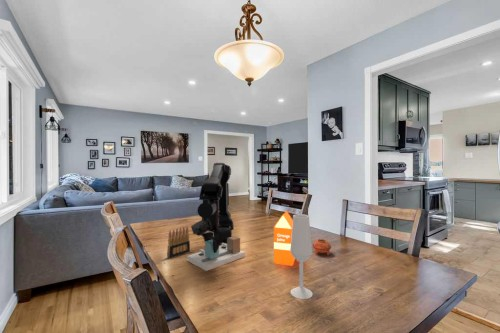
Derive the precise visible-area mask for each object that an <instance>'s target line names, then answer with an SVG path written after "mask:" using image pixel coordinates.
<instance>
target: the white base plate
mask: <svg viewBox="0 0 500 333" xmlns="http://www.w3.org/2000/svg"><path fill="white" fill-rule="evenodd" d="M245 252H246V251H244V250H241V237H239V236H236V235H232V237H229V238H227V243H221V245H220V246H219V256H218V257H215V258H212V259H210V258H208V257H206V256H205V253H201V252H200V251H199V252H195V253H193V254H189V255H186V257H187V258H186V259H187V262H189V263H190V264H193V265H194V266H196V267H198V268H200V269H202V270H204V271H205V272H208V271H210V270H211V271H212V270H213V269H216V268H218V267H221V266H224V265H226V264H229V263H231V262H234V261H237V260H240V259H242V258H245V257H246V253H245Z"/></svg>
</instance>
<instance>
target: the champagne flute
mask: <svg viewBox="0 0 500 333" xmlns="http://www.w3.org/2000/svg"><path fill="white" fill-rule="evenodd" d="M292 220H293V225H292V237H291V248H290V252H291V254H292V255H293V257H294V258H295V261H297V262H299V264H298V267H299V278H298V279H299V286H297V287H294V288H291V290H290V295H291V296H293V297H294V298H296V299H301V300H307V299H310V298H312V296H313V292H312V291H311V290H310V289H309V288H307V287H305V286H304V263H305V262H306V261H308V259H310V258H311V256H312V254H313V243H312V235H311V224H310V216H309V215H307V214H304V213H303V214H302V213H300V214H299V213H297V214H293V215H292Z"/></svg>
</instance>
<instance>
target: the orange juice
mask: <svg viewBox="0 0 500 333" xmlns="http://www.w3.org/2000/svg"><path fill="white" fill-rule="evenodd" d="M292 225H293V217H291V215H290V214H289V212H288V210H287V211H284V213H283V214H282V215H281V216H280V218H279V220H278V221H277V223H275V225H274V227H273V261H274V262H273V264H278V265H284V266H291V267H292V266H293V265H294V264H295V263H294V262H295V261H296V259H295V258H294V257H293V255H292V254H291V252H290V248H291V237H292Z"/></svg>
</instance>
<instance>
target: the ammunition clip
mask: <svg viewBox="0 0 500 333" xmlns="http://www.w3.org/2000/svg"><path fill="white" fill-rule="evenodd" d="M190 244H191V243H190V234H189V226H188V225H187V226H186V227H185V226H183V227H180V228H179V229H178V228H176V229H174V228H173V230H172V231H171V229H170V230H169V232H168V240H167V254H166V255H167V256H166V257H167V258H168V259H172V258H176V257H178V256H181V255H184V254H187V253H190V252H191V245H190Z"/></svg>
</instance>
